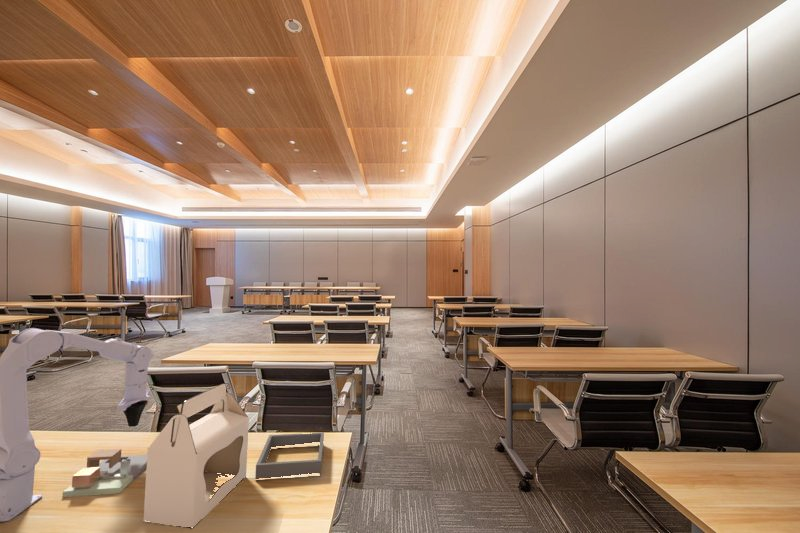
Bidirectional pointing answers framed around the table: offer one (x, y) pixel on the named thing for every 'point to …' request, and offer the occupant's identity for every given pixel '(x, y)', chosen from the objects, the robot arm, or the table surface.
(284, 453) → the table surface
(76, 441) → the table surface
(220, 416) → the gable box
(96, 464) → the track
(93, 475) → the sled
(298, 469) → the tray
